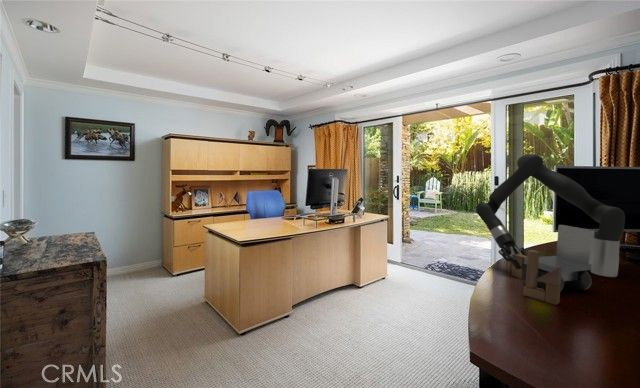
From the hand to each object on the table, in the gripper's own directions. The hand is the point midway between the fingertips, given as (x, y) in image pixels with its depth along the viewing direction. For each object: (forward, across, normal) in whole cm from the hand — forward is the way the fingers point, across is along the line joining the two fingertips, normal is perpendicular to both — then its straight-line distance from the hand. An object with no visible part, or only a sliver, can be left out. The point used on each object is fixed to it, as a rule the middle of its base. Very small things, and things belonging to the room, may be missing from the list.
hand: (523, 268), depth 138 cm
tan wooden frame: (+18, -15, -11) cm, 26 cm away
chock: (+2, 0, +4) cm, 5 cm away
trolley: (+12, +3, -6) cm, 14 cm away
